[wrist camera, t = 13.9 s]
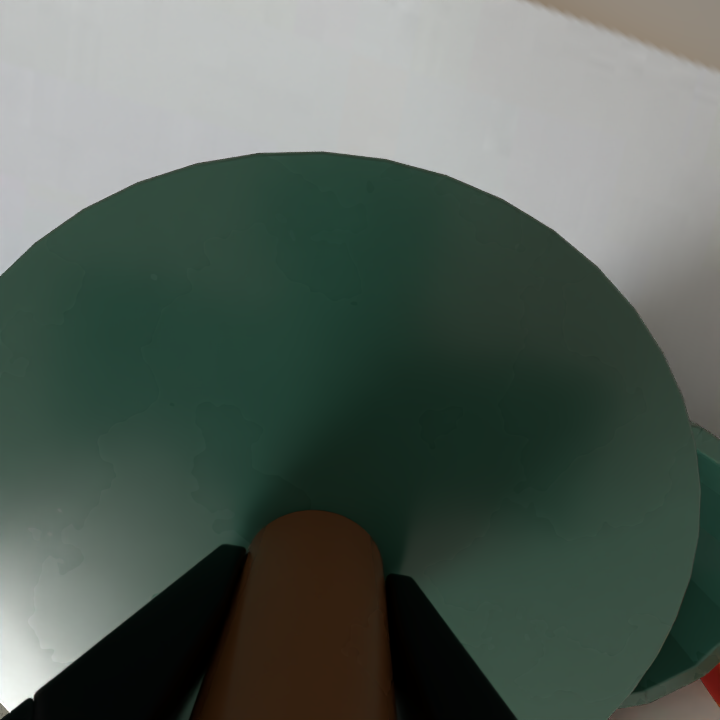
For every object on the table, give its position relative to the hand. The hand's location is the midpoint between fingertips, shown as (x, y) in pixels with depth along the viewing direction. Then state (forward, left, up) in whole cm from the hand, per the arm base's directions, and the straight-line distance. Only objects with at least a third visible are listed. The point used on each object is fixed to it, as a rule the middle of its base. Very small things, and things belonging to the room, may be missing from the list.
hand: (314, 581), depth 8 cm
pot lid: (0, 0, -1) cm, 1 cm away
